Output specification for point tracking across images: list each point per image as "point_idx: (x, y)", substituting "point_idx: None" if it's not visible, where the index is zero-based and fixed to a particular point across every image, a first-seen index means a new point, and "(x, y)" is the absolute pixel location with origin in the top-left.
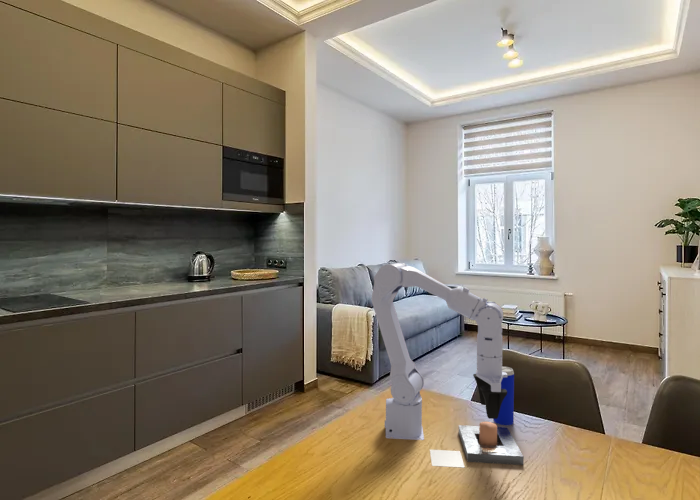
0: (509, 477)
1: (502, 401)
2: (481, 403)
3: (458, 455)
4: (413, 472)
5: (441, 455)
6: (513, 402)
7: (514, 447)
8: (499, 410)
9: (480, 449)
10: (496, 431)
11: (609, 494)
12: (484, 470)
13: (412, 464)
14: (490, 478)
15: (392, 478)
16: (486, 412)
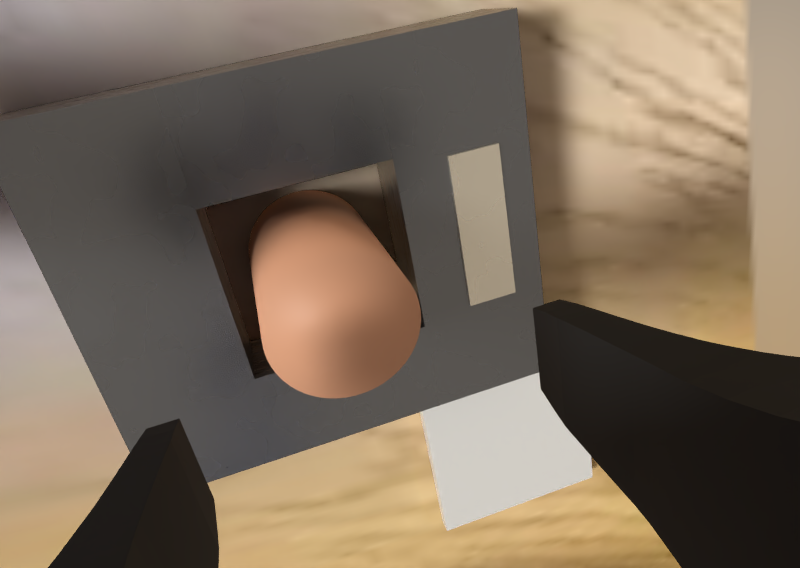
0: (605, 109)
1: (782, 355)
2: (212, 513)
3: (473, 397)
4: (625, 516)
5: (492, 468)
6: None
7: (389, 73)
8: (632, 322)
9: (486, 308)
10: (367, 244)
11: None
12: (559, 247)
13: (567, 540)
14: (628, 211)
15: (672, 559)
16: (567, 428)
